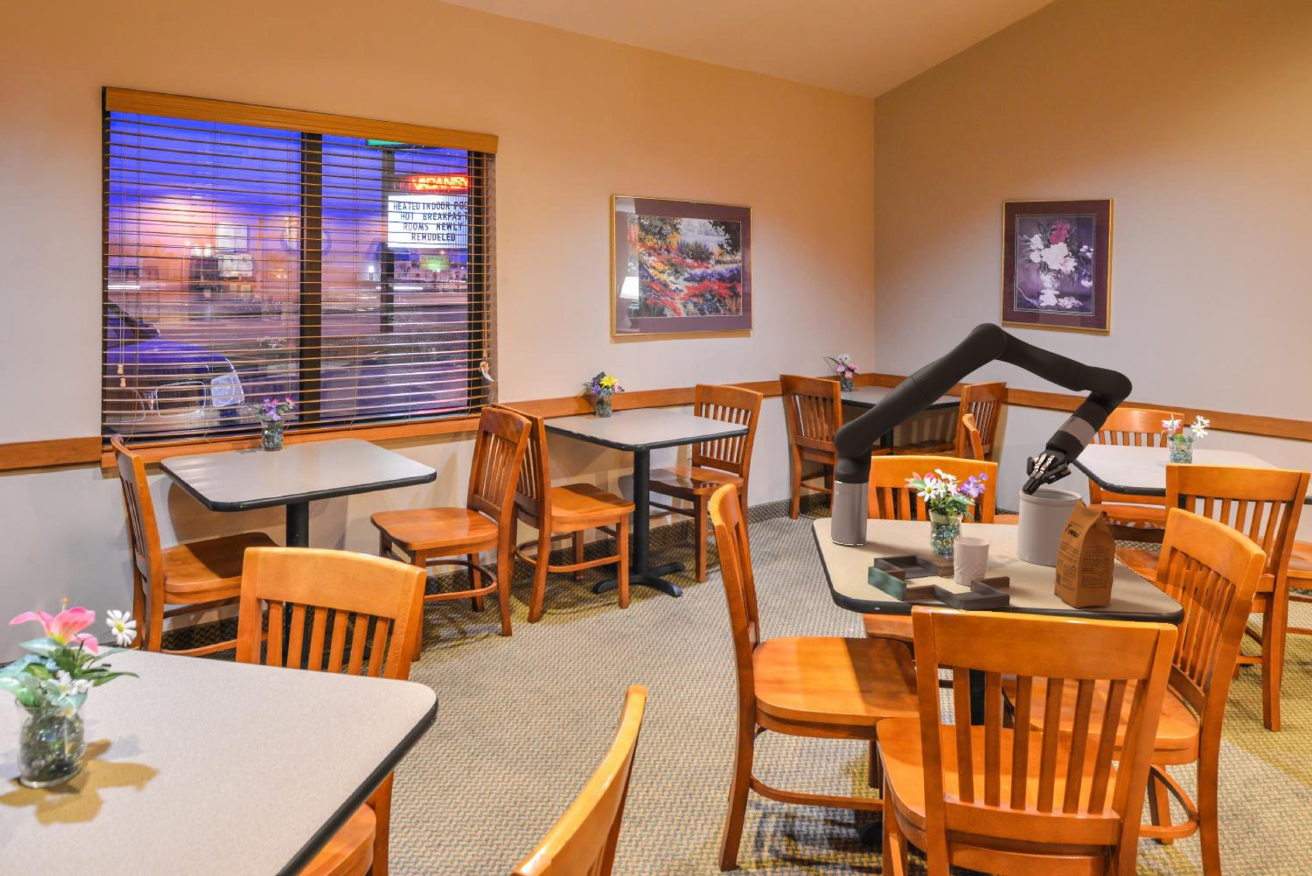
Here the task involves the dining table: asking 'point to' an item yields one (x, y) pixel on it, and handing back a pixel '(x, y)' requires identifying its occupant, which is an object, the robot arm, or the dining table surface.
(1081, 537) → the coffee package
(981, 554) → the white cup
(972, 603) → the grey compartment tray
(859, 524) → the robot arm
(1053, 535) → the utensil holder
